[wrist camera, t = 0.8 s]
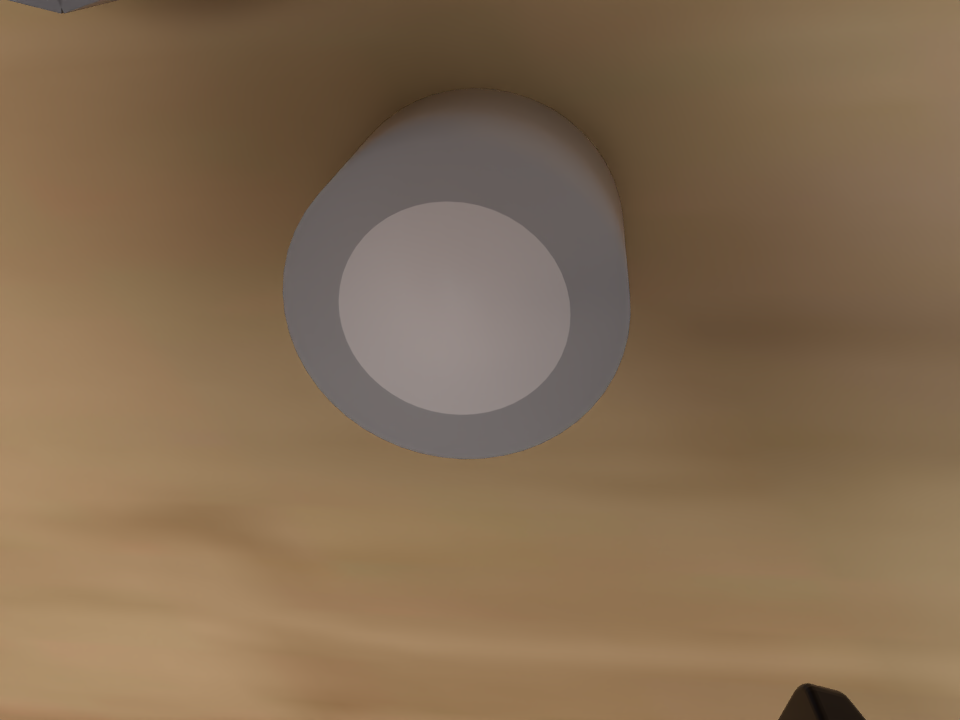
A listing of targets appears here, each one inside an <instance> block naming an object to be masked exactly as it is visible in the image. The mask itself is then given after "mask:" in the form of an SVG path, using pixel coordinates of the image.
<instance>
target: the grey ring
mask: <svg viewBox="0 0 960 720" xmlns="http://www.w3.org/2000/svg"><path fill="white" fill-rule="evenodd" d="M10 1H14V2H17V3H21V4H25V5H29V6H33V7H37V8H41V9H45V10H49V11H53V12H57V13H68V12H72V11H76V10H80V9H84V8H88V7H92V6H96V5H100V4H104V3H108V2H113V1H117V0H10Z"/></svg>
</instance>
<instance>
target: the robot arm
mask: <svg viewBox="0 0 960 720" xmlns="http://www.w3.org/2000/svg"><path fill="white" fill-rule="evenodd" d="M778 720H866V719H865V718H864V717H863V716H862V714H861V713H860V712H859V711H858V709H857V708H856V707H855V706H854V705H853V703H852V702H851V701H850V700H849V699H848V698H847V696H846V695H844V694H843V693H841V692H839V691H837V690H833V689H829V688H825V687H821V686H817V685H814V684H809V683H807V684H802V685H800V686H799V687H798V688H797V689H796V690H795V692H794V693H793V695H792V697H791V699H790V700H789V702H788V704H787V705H786V707H785V709H784V711H783V712H782V714H781V716H780V718H779V719H778Z"/></svg>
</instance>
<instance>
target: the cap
mask: <svg viewBox="0 0 960 720" xmlns="http://www.w3.org/2000/svg"><path fill="white" fill-rule="evenodd" d="M283 300H284V311H285V316H286V321H287V325H288V329H289V333H290V336H291V338H292V341H293V344H294V347H295V349H296V352H297V354H298V356H299V358H300V359H301V361H302V363H303V365H304V367H305V369H306V371H307V372H308V374H309V375H310V376H311V378H312V379H313V381H314V382H315V384H316V385H317V387H318V388H319V389H320V390H321V391H322V392H323V393H324V395H325V396H326V397H327V398H328V399H329V400H330V401H331V403H333V404H334V405H335V406H336V407H337V408H338V409H339V410H340V411H341V412H343V413H344V414H345V415H346V416H347V417H348V418H350V419H351V420H353V421H354V422H355V423H357V424H358V425H360V426H361V427H362V428H364V429H365V430H367V431H369V432H371V433H373V434H374V435H376V436H378V437H380V438H381V439H384V440H386V441H388V442H391V443H393V444H395V445H398V446H400V447H402V448H406V449H409V450H412V451H415V452H419V453H422V454H428V455H433V456H438V457H445V458H457V459H481V458H490V457H497V456H504V455H508V454H512V453H516V452H519V451H523V450H526V449H529V448H531V447H534V446H536V445H539V444H541V443H544V442H545V441H547V440H549V439H551V438H553V437H555V436H557V435H558V434H560V433H562V432H563V431H564V430H566V429H567V428H569V427H570V426H571V425H573V424H574V423H576V422H577V421H578V420H579V419H580V418H581V417H582V416H583V415H585V414H586V413H587V412H588V411H589V410H590V409H591V408H592V407H593V406H594V404H595V403H596V402H597V401H598V399H599V398H600V397H601V396H602V395H603V393H604V392H605V390H606V389H607V387H608V385H609V384H610V382H611V380H612V379H613V377H614V376H615V373H616V371H617V369H618V366H619V364H620V362H621V359H622V357H623V354H624V350H625V346H626V342H627V338H628V333H629V324H630V291H629V280H628V268H627V257H626V245H625V234H624V222H623V213H622V208H621V202H620V197H619V194H618V191H617V188H616V185H615V182H614V179H613V177H612V175H611V173H610V171H609V169H608V167H607V165H606V163H605V161H604V160H603V158H602V157H601V155H600V154H599V152H598V151H597V149H596V148H595V146H594V145H593V144H592V143H591V142H590V141H589V139H588V138H587V137H586V136H585V135H584V134H583V133H582V132H581V131H580V130H579V129H578V128H577V127H576V126H574V125H573V124H572V123H571V122H570V121H569V120H568V119H566V118H565V117H563V116H562V115H560V114H559V113H557V112H556V111H554V110H553V109H551V108H549V107H547V106H545V105H543V104H541V103H539V102H537V101H535V100H533V99H530V98H527V97H524V96H521V95H518V94H515V93H511V92H505V91H500V90H494V89H477V88H470V89H459V90H451V91H446V92H442V93H438V94H433V95H431V96H428V97H426V98H423V99H420V100H418V101H415V102H413V103H412V104H410V105H408V106H406V107H404V108H403V109H401V110H399V111H397V112H396V113H395V114H394V115H392V116H391V117H390V118H388V119H387V120H386V121H384V122H383V123H382V124H381V125H380V126H379V127H378V128H377V129H376V130H375V131H374V132H373V133H372V134H371V135H370V136H369V137H368V138H367V140H366V141H365V142H364V143H363V144H362V145H361V146H360V148H359V149H358V150H357V151H356V152H355V153H354V154H353V156H352V157H351V158H350V159H349V160H348V161H347V162H346V163H345V165H344V166H343V167H342V168H341V169H340V170H339V171H338V173H337V174H336V175H335V176H334V177H333V178H332V179H331V181H330V182H329V183H328V184H327V185H326V186H325V187H324V189H323V190H322V191H321V192H320V193H319V194H318V195H317V197H316V198H315V199H314V201H313V202H312V203H311V205H310V206H309V208H308V209H307V210H306V212H305V213H304V215H303V217H302V219H301V221H300V222H299V224H298V226H297V228H296V230H295V232H294V235H293V238H292V241H291V243H290V246H289V249H288V253H287V258H286V263H285V268H284V278H283Z"/></svg>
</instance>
